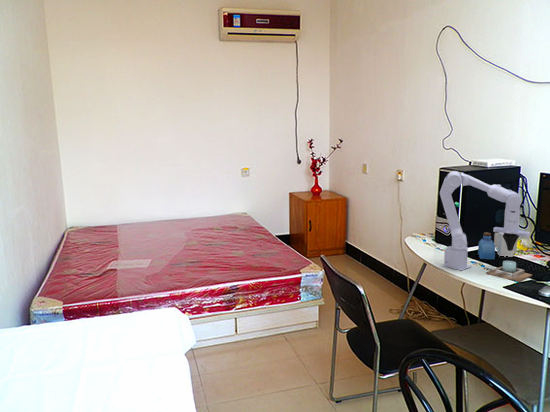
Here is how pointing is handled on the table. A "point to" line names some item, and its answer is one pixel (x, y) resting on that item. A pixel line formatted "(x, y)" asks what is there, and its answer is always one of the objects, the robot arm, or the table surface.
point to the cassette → (497, 243)
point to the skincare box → (503, 247)
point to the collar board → (510, 274)
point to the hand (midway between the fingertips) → (510, 250)
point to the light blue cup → (509, 266)
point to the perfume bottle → (486, 247)
